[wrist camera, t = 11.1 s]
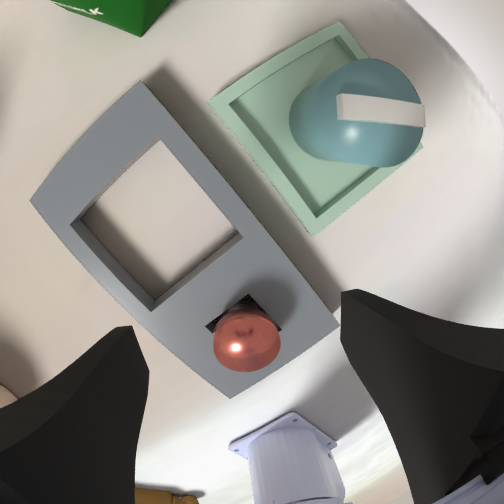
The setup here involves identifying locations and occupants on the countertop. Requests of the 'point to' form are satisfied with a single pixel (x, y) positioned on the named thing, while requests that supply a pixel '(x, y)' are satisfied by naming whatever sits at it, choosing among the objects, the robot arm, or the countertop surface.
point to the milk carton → (118, 12)
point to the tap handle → (161, 497)
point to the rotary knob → (359, 116)
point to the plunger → (245, 338)
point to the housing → (201, 277)
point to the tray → (280, 137)
